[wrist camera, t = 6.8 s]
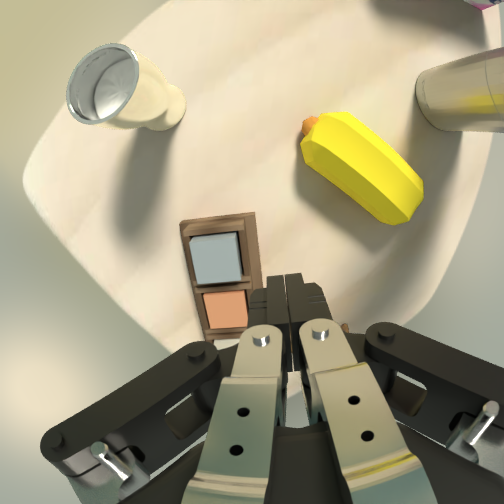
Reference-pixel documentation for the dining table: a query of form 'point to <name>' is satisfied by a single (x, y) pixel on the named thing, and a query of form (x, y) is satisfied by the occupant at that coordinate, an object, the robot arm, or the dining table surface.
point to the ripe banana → (362, 166)
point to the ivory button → (225, 343)
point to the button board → (249, 262)
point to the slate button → (216, 257)
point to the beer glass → (122, 91)
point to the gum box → (483, 3)
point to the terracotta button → (227, 308)
